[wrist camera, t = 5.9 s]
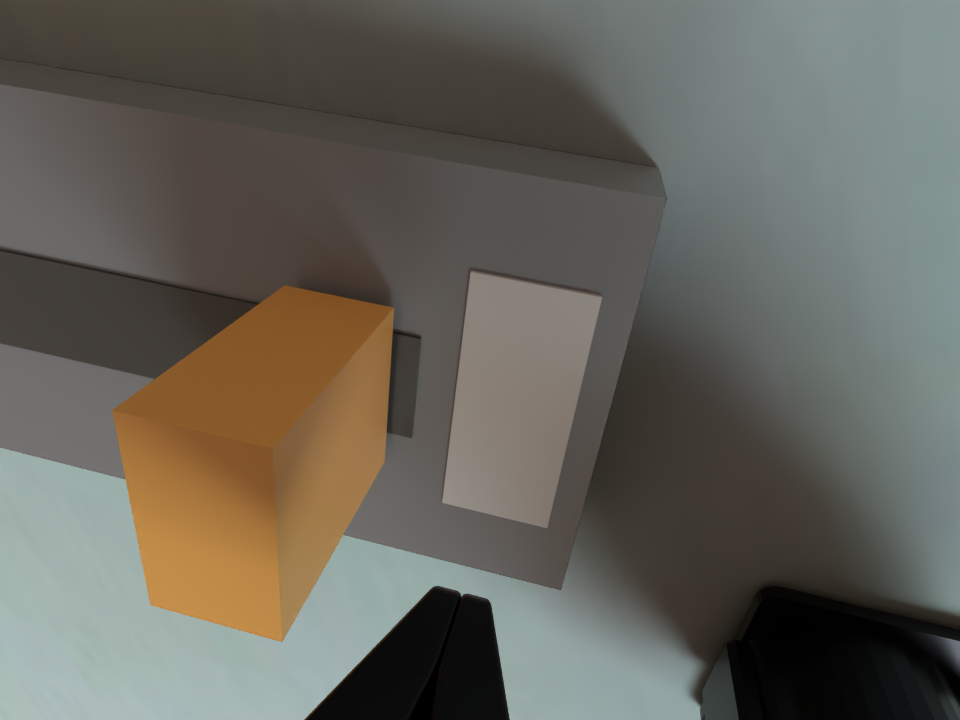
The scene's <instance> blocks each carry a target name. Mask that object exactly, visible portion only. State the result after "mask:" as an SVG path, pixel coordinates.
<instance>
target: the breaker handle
mask: <svg viewBox="0 0 960 720" xmlns="http://www.w3.org/2000/svg"><path fill="white" fill-rule="evenodd" d="M393 319H394V308H393V307H389V306H384V305H379V304H374V303H369V302H364V301H359V300H354V299H349V298H345V297H340V296H335V295H330V294H325V293H320V292H315V291H310V290H305V289H301V288H296V287H291V286H286V285H285V286H283V287H282V288H280V289H279V290H278V291H276V292H275V293H273V294H272V295H271V296H269V297H268V298H267V299H265V300H264V301H262V302H261V303H260V304H258V305H257V306H255V307H254V308H253V309H251V310H250V311H249V312H247V313H246V314H244V315H243V316H242V317H240V318H239V319H237V320H236V321H235V322H233V323H232V324H231V325H229V326H228V327H226V328H225V329H224V330H222V331H221V332H219V333H218V334H217V335H215V336H214V337H213V338H211V339H210V340H208V341H207V342H206V343H204V344H203V345H202V346H200V347H199V348H197V349H196V350H195V351H193V352H192V353H190V354H189V355H188V356H186V357H185V358H184V359H182V360H181V361H179V362H178V363H177V364H175V365H174V366H172V367H171V368H170V369H168V370H167V371H166V372H164V373H163V374H161V375H160V376H159V377H157V378H156V379H154V380H153V381H152V382H150V383H149V384H148V385H146V386H145V387H143V388H142V389H141V390H139V391H138V392H136V393H135V394H134V395H132V396H131V397H130V398H128V399H127V400H125V401H124V402H123V403H121V404H120V405H119V406H117V407H116V408H114V409H113V410H112V413H113V418H114V423H115V428H116V433H117V438H118V443H119V448H120V453H121V458H122V463H123V468H124V473H125V478H126V483H127V488H128V493H129V498H130V503H131V509H132V514H133V519H134V524H135V529H136V534H137V539H138V544H139V549H140V554H141V559H142V564H143V569H144V574H145V579H146V584H147V589H148V594H149V599H150V604H151V605H152V606H156V607H159V608H163V609H166V610H170V611H173V612H177V613H181V614H184V615H188V616H191V617H195V618H198V619H202V620H206V621H209V622H213V623H216V624H220V625H223V626H227V627H230V628H234V629H238V630H241V631H245V632H248V633H252V634H255V635H259V636H263V637H266V638H270V639H273V640H277V641H280V642H282V641H283V640H284V638H285V636H286V634H287V632H288V631H289V629H290V627H291V625H292V624H293V622H294V620H295V618H296V617H297V615H298V613H299V611H300V610H301V608H302V606H303V604H304V603H305V601H306V599H307V597H308V596H309V594H310V592H311V590H312V589H313V587H314V585H315V583H316V582H317V580H318V578H319V576H320V575H321V573H322V571H323V569H324V568H325V566H326V564H327V562H328V561H329V559H330V557H331V555H332V553H333V552H334V550H335V548H336V546H337V545H338V543H339V541H340V539H341V538H342V536H343V534H344V532H345V531H346V529H347V527H348V525H349V524H350V522H351V520H352V518H353V517H354V515H355V513H356V511H357V510H358V508H359V506H360V504H361V503H362V501H363V499H364V497H365V496H366V494H367V492H368V490H369V489H370V487H371V485H372V483H373V482H374V480H375V478H376V476H377V474H378V473H379V471H380V469H381V467H382V466H383V464H384V462H385V449H386V433H387V416H388V400H389V384H390V368H391V352H392V335H393Z"/></svg>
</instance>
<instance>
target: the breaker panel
mask: <svg viewBox="0 0 960 720" xmlns="http://www.w3.org/2000/svg"><path fill="white" fill-rule="evenodd" d="M666 200H667V198H666V194H665V190H664V186H663V182H662V178H661V174H660V171H659V168H656V167H650V166H644V165H638V164H632V163H626V162H620V161H614V160H608V159H602V158H596V157H590V156H584V155H578V154H572V153H566V152H560V151H554V150H548V149H542V148H536V147H530V146H524V145H518V144H512V143H506V142H500V141H494V140H488V139H482V138H476V137H470V136H464V135H458V134H452V133H446V132H440V131H434V130H428V129H422V128H416V127H410V126H404V125H398V124H392V123H386V122H380V121H374V120H368V119H362V118H356V117H350V116H344V115H338V114H332V113H326V112H320V111H314V110H308V109H302V108H296V107H290V106H284V105H278V104H272V103H266V102H260V101H254V100H247V99H241V98H235V97H229V96H223V95H217V94H211V93H205V92H199V91H193V90H187V89H181V88H175V87H169V86H163V85H157V84H151V83H145V82H139V81H133V80H127V79H121V78H115V77H109V76H103V75H97V74H91V73H85V72H79V71H73V70H67V69H61V68H55V67H49V66H43V65H37V64H31V63H25V62H19V61H13V60H7V59H1V58H0V448H4V449H8V450H12V451H16V452H20V453H24V454H28V455H32V456H36V457H40V458H44V459H47V460H51V461H55V462H59V463H63V464H67V465H71V466H75V467H79V468H83V469H87V470H91V471H95V472H99V473H102V474H106V475H110V476H114V477H118V478H122V479H126V478H125V473H124V468H123V463H122V458H121V453H120V448H119V443H118V438H117V433H116V428H115V423H114V418H113V413H112V410H113V409H114V408H116V407H117V406H119V405H120V404H121V403H123V402H124V401H125V400H127V399H128V398H130V397H131V396H132V395H134V394H135V393H136V392H138V391H139V390H141V389H142V388H143V387H145V386H146V385H148V384H149V383H150V382H152V381H153V380H154V379H156V378H157V377H159V376H160V375H161V374H163V373H164V372H166V371H167V370H168V369H170V368H171V367H172V366H174V365H175V364H177V363H178V362H179V361H181V360H182V359H184V358H185V357H186V356H188V355H189V354H190V353H192V352H193V351H195V350H196V349H197V348H199V347H200V346H202V345H203V344H204V343H206V342H207V341H208V340H210V339H211V338H213V337H214V336H215V335H217V334H218V333H219V332H221V331H222V330H224V329H225V328H226V327H228V326H229V325H231V324H232V323H233V322H235V321H236V320H237V319H239V318H240V317H242V316H243V315H244V314H246V313H247V312H249V311H250V310H251V309H253V308H254V307H255V306H257V305H258V304H260V303H261V302H262V301H264V300H265V299H267V298H268V297H269V296H271V295H272V294H273V293H275V292H276V291H278V290H279V289H280V288H282V287H283V286H285V285H286V286H291V287H296V288H301V289H305V290H310V291H315V292H320V293H325V294H330V295H335V296H340V297H345V298H349V299H354V300H359V301H364V302H369V303H374V304H379V305H384V306H389V307H393V308H394V319H393V335H392V352H391V368H390V384H389V400H388V416H387V433H386V449H385V462H384V464H383V466H382V467H381V469H380V471H379V473H378V474H377V476H376V478H375V480H374V482H373V483H372V485H371V487H370V489H369V490H368V492H367V494H366V496H365V497H364V499H363V501H362V503H361V504H360V506H359V508H358V510H357V511H356V513H355V515H354V517H353V518H352V520H351V522H350V524H349V525H348V527H347V529H346V531H345V532H344V534H343V535H346V536H350V537H354V538H358V539H362V540H366V541H370V542H374V543H378V544H382V545H385V546H389V547H393V548H397V549H401V550H405V551H409V552H413V553H417V554H421V555H425V556H429V557H433V558H437V559H440V560H444V561H448V562H452V563H456V564H460V565H464V566H468V567H472V568H476V569H480V570H484V571H488V572H492V573H495V574H499V575H503V576H507V577H511V578H515V579H519V580H523V581H527V582H531V583H535V584H539V585H543V586H547V587H550V588H554V589H558V590H561V588H562V584H563V581H564V577H565V573H566V570H567V566H568V562H569V558H570V555H571V551H572V547H573V544H574V540H575V536H576V533H577V529H578V525H579V521H580V518H581V514H582V510H583V507H584V503H585V499H586V496H587V492H588V488H589V485H590V481H591V477H592V473H593V470H594V466H595V462H596V459H597V455H598V451H599V448H600V444H601V440H602V436H603V433H604V429H605V425H606V422H607V418H608V414H609V411H610V407H611V403H612V400H613V396H614V392H615V388H616V385H617V381H618V377H619V374H620V370H621V366H622V363H623V359H624V355H625V352H626V348H627V344H628V340H629V337H630V333H631V329H632V326H633V322H634V318H635V315H636V311H637V307H638V303H639V300H640V296H641V292H642V289H643V285H644V281H645V278H646V274H647V270H648V267H649V263H650V259H651V255H652V252H653V248H654V244H655V241H656V237H657V233H658V230H659V226H660V222H661V218H662V215H663V211H664V207H665V204H666Z"/></svg>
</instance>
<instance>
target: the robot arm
mask: <svg viewBox="0 0 960 720" xmlns="http://www.w3.org/2000/svg"><path fill="white" fill-rule="evenodd" d="M772 604H779V605H772ZM702 697H703V703H702V705H701V707H700V715H701V720H960V631H958V630H954V629H950V628H946V627H942V626H938V625H934V624H930V623H926V622H921V621H917V620H913V619H909V618H905V617H901V616H897V615H893V614H889V613H884V612H880V611H876V610H872V609H868V608H864V607H860V606H856V605H852V604H847V603H843V602H839V601H835V600H831V599H827V598H823V597H819V596H815V595H810V594H806V593H802V592H798V591H794V590H790V589H786V588H782V587H774V586H772V587H766V588H764V589H762V590H760V591H759V592H758V593H757V594H756V596H755V598H754V600H753V602H752V604H751V606H750V608H749V610H748V612H747V614H746V616H745V618H744V620H743V622H742V624H741V626H740V628H739V630H738V632H737V634H736V637H735V639H733V638H732V639H731V640H730V641H728V642H727V643H726V644H725V645H724V647H723V649H722V651H721V653H720V655H719V657H718V660H717V662H716V664H715V666H714V668H713V670H712V672H711V674H710V676H709V678H708V680H707V682H706V684H705V686H704V688H703V691H702ZM304 720H510V719H509V713H508V707H507V701H506V694H505V688H504V682H503V676H502V669H501V663H500V657H499V651H498V644H497V638H496V632H495V626H494V619H493V613H492V607H491V603H490V601H489V600H488V599H486V598H482V597H478V596H474V595H471V594H464V595H463V596H462V597H461V594H460V593H459V592H458V591H456V590H452V589H448V588H444V587H440V586H435V587H433V588H432V589H430V590H429V591H428V592H427V593H426V594H425V595H424V596H423V597H422V599H421V600H420V601H419V602H418V603H417V604H416V605H415V606H414V607H413V608H412V609H411V610H410V611H409V612H408V613H407V614H406V615H405V616H404V617H403V618H402V619H401V620H400V621H399V622H398V623H397V624H396V625H395V626H394V627H393V629H392V630H391V631H390V632H389V633H388V634H387V635H386V636H385V637H384V638H383V639H382V640H381V641H380V642H379V643H378V644H377V645H376V646H375V647H374V648H373V649H372V650H371V651H370V652H369V653H368V654H367V655H366V656H365V657H364V658H363V660H362V661H361V662H360V663H359V664H358V665H357V666H356V667H355V668H354V669H353V670H352V671H351V672H350V673H349V674H348V675H347V676H346V677H345V678H344V679H343V680H342V681H341V682H340V683H339V684H338V685H337V686H336V687H335V688H334V689H333V691H332V692H331V693H330V694H329V695H328V696H327V697H326V698H325V699H324V700H323V701H322V702H321V703H320V704H319V705H318V706H317V707H316V708H315V709H314V710H313V711H312V712H311V713H310V714H309V715H308V716H307V717H306V718H305V719H304Z"/></svg>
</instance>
